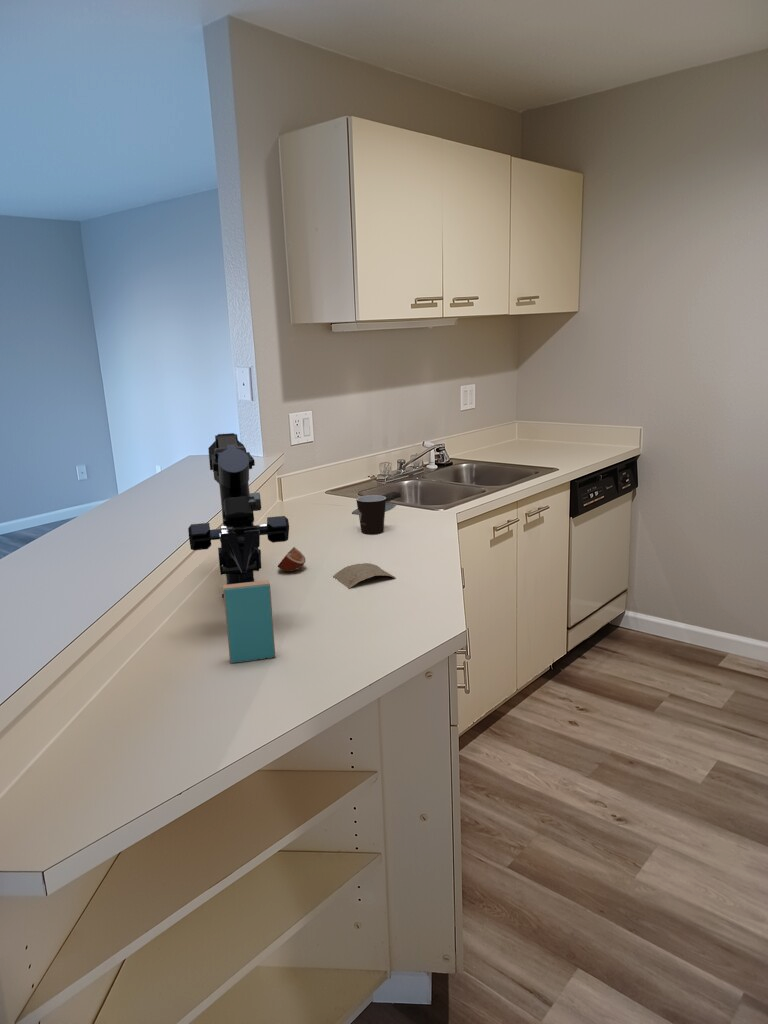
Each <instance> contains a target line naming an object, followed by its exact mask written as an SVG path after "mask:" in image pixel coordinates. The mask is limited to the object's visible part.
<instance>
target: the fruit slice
mask: <svg viewBox="0 0 768 1024" xmlns="http://www.w3.org/2000/svg"><path fill="white" fill-rule="evenodd" d="M304 564H306V557H305V555H304V554H303V553H302V551H300V550H299V549H297V548H296V546H294V547H292V548H291V549H290V550H289V551H288V552H287V553H286V555H285V556H284V557H283V558H282V560H281V561H280V562H279V563H278V565H277V568H278V569H280V570H281V571H283V572H293V571H296V570H298V569H300V568H301V567H303V566H304Z"/></svg>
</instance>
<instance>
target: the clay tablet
mask: <svg viewBox="0 0 768 1024" xmlns="http://www.w3.org/2000/svg"><path fill="white" fill-rule="evenodd" d="M375 576H376V577H377V576H385V577H386V576H387V577H392V578H394V579H396V578H397V577H396V576H394V575H392V574H391V573H389V572H388V571H385V570H384V569H382V567H380V566H378V565H376V564H373V563H370V562H369V563H366V562H364V563H356V564H351V565H347V566H345V567H344V568H343V567H342V568H341V570H338V572H336V573H335V574H334V575H332V577H333V579H334V578H335V579H334V580H336V579H337V580H338V582H339V584H342V585H343V586H344V587H346V588H347V589H348V590H349V589H351V588H352V587H355V586H356V585H357V584H358V583H359V582H361V581H362V582H363V581H364V580H366V579H370V578H372V577H375ZM337 580H336V581H337Z"/></svg>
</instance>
